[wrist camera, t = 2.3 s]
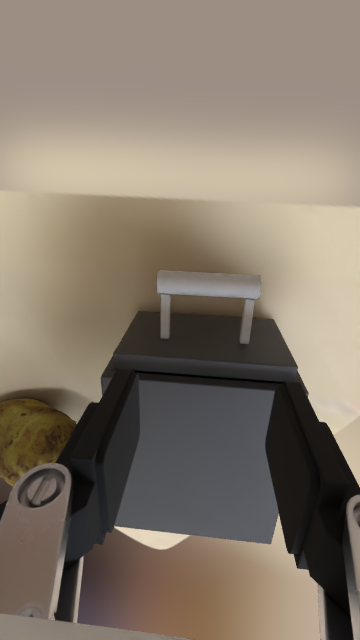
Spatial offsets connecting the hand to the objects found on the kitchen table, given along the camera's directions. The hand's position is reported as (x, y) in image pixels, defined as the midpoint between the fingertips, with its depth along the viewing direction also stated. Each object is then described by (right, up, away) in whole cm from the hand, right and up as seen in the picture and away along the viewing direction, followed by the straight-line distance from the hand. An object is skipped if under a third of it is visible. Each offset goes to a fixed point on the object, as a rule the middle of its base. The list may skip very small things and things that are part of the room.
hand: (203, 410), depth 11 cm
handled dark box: (+1, 0, +16) cm, 16 cm away
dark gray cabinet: (+1, -4, +18) cm, 19 cm away
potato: (-16, -7, +22) cm, 28 cm away
